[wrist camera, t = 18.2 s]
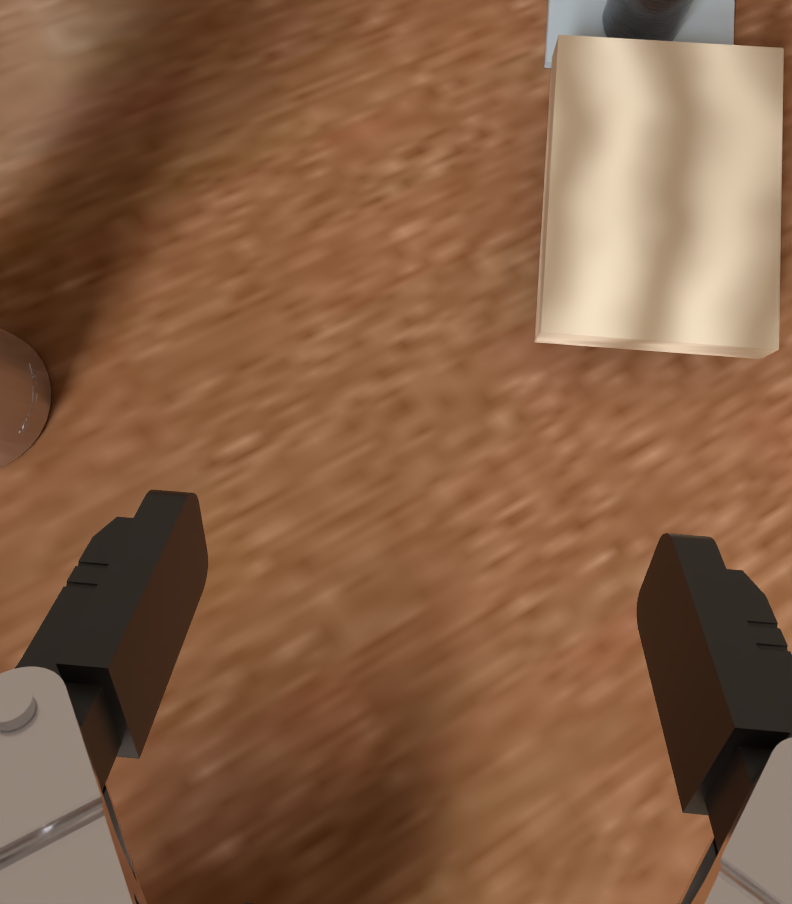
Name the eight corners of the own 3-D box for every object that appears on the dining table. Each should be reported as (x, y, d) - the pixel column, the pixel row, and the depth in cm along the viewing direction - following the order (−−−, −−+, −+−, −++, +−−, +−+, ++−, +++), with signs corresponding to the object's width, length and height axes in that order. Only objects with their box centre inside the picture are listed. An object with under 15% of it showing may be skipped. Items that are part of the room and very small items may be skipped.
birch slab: (526, 355, 44) (540, 332, 39) (542, 88, 46) (558, 34, 41) (737, 371, 44) (778, 349, 39) (743, 101, 46) (783, 47, 41)
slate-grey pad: (544, 67, 47) (545, 61, 46) (550, -29, 47) (551, -36, 47) (728, 79, 46) (732, 73, 46) (731, -19, 47) (735, -26, 46)
